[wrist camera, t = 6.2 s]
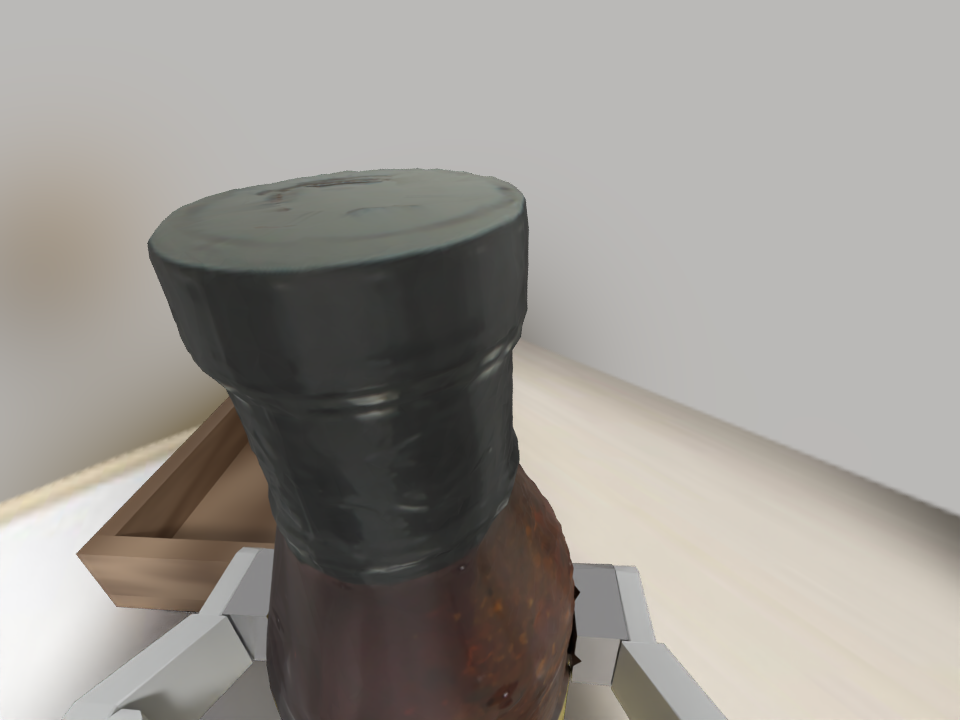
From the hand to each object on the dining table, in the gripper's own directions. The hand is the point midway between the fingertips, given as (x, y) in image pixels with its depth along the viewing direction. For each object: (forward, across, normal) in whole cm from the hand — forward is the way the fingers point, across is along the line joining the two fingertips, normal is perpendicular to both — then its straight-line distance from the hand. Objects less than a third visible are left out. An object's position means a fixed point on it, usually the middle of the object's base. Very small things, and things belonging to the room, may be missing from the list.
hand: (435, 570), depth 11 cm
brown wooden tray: (+11, +11, +11) cm, 19 cm away
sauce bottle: (-1, 0, +11) cm, 11 cm away
